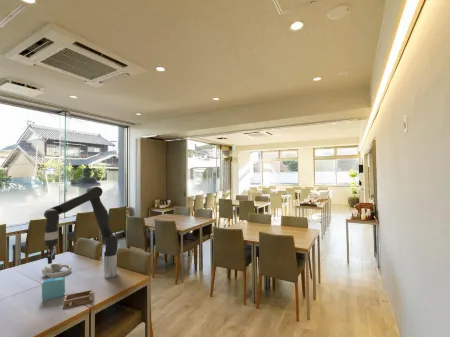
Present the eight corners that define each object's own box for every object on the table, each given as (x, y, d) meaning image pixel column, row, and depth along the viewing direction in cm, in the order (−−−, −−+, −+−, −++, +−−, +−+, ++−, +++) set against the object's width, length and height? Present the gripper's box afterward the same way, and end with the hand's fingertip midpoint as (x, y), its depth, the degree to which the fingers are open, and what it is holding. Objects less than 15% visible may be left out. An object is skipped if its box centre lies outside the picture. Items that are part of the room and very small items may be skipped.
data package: (64, 293, 165) (64, 276, 165) (63, 296, 161) (63, 279, 161) (44, 297, 161) (44, 279, 161) (41, 300, 157) (41, 282, 157)
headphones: (36, 277, 191) (56, 282, 187) (37, 267, 191) (57, 272, 187) (56, 268, 209) (75, 272, 205) (57, 259, 209) (76, 264, 205)
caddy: (66, 298, 159) (66, 289, 159) (93, 292, 166) (93, 284, 166) (62, 309, 147) (62, 299, 147) (92, 302, 154) (92, 293, 154)
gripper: (55, 240, 159) (55, 264, 159) (60, 235, 172) (60, 257, 172) (41, 241, 156) (41, 266, 156) (47, 236, 169) (47, 259, 169)
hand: (51, 261), depth 164 cm, fingers open, 8 cm apart
